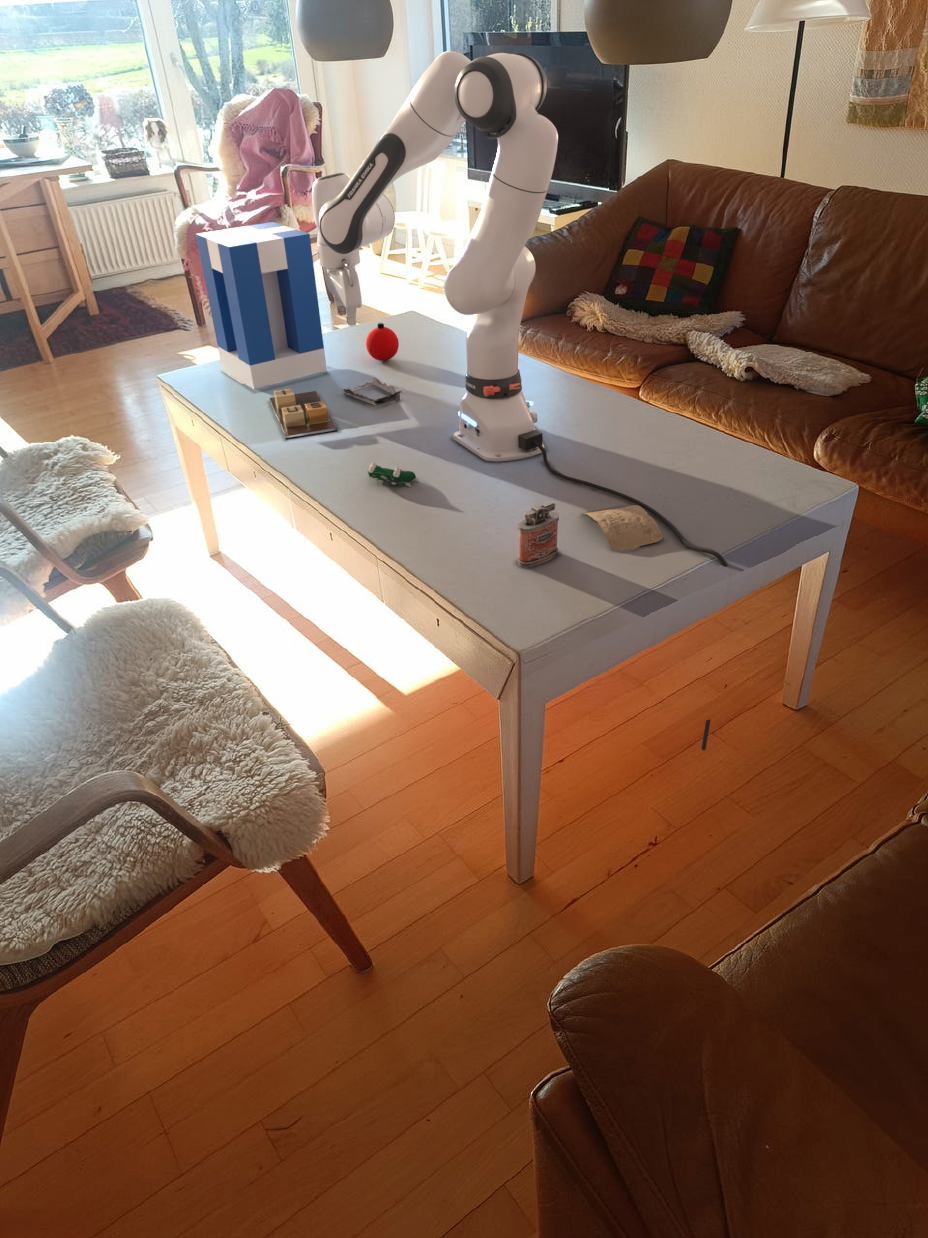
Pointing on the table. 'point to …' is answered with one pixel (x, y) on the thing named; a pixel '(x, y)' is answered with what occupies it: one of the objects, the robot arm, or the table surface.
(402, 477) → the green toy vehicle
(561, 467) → the table surface
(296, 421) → the letter board
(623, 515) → the clay tablet
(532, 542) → the lighter
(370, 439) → the table surface
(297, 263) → the toy block
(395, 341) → the ornament
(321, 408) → the letter s tile
